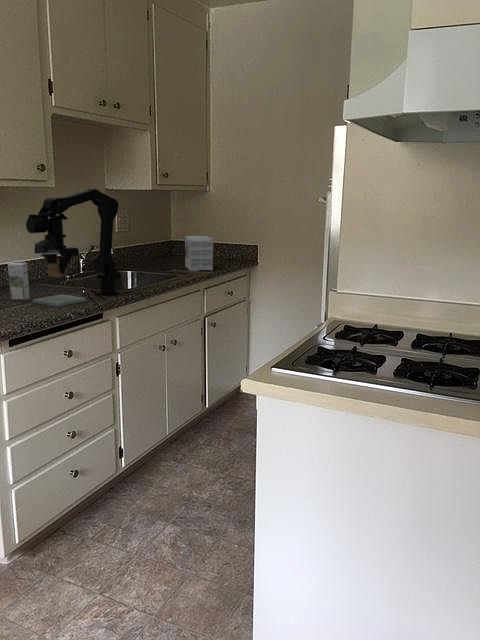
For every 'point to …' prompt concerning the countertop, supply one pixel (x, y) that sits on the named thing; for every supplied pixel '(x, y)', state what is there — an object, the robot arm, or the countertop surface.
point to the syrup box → (18, 280)
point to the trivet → (59, 300)
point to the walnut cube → (55, 270)
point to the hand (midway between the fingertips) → (57, 272)
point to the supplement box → (198, 253)
